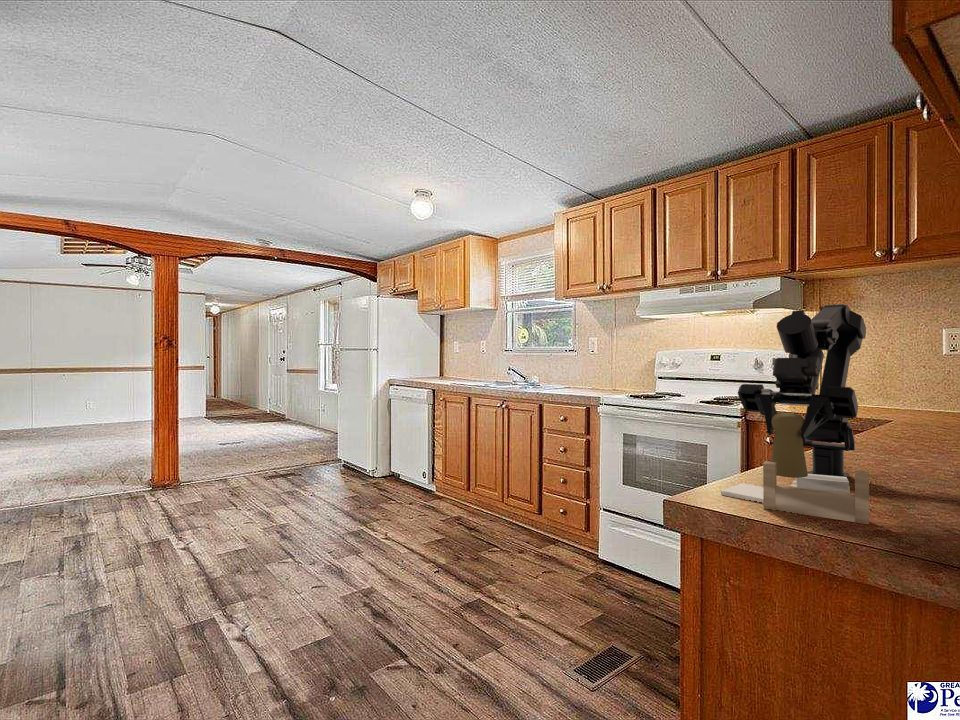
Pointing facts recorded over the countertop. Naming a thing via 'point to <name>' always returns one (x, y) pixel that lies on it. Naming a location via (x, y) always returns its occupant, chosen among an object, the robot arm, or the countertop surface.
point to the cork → (788, 445)
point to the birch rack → (817, 498)
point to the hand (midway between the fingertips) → (785, 435)
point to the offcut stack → (823, 483)
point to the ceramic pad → (745, 492)
